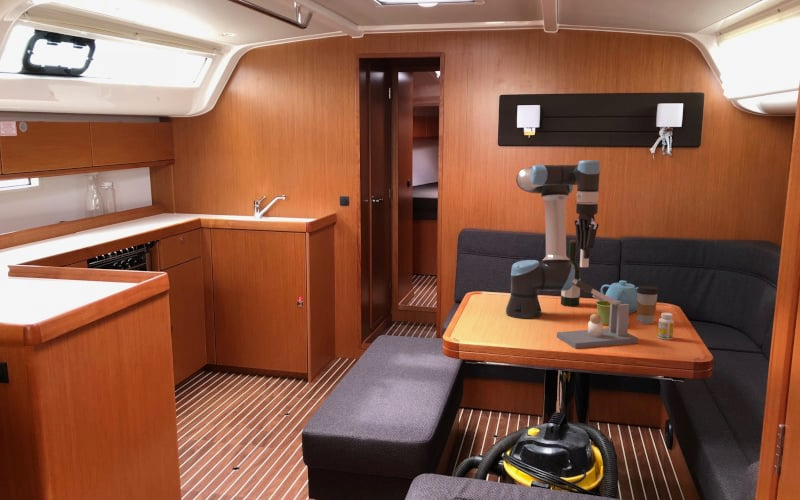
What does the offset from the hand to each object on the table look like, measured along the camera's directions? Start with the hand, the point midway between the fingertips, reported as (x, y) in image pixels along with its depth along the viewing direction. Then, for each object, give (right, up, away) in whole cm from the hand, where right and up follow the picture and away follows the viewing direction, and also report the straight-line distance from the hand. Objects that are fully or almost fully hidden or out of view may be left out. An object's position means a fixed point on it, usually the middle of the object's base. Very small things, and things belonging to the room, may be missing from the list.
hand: (584, 266), depth 237 cm
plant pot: (+18, -25, +29) cm, 42 cm away
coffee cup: (+35, -24, +31) cm, 52 cm away
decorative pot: (+31, -21, +50) cm, 62 cm away
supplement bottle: (+34, -28, +10) cm, 45 cm away
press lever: (+6, -12, +4) cm, 14 cm away
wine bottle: (+11, -19, +60) cm, 64 cm away
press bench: (+7, -28, +7) cm, 30 cm away
